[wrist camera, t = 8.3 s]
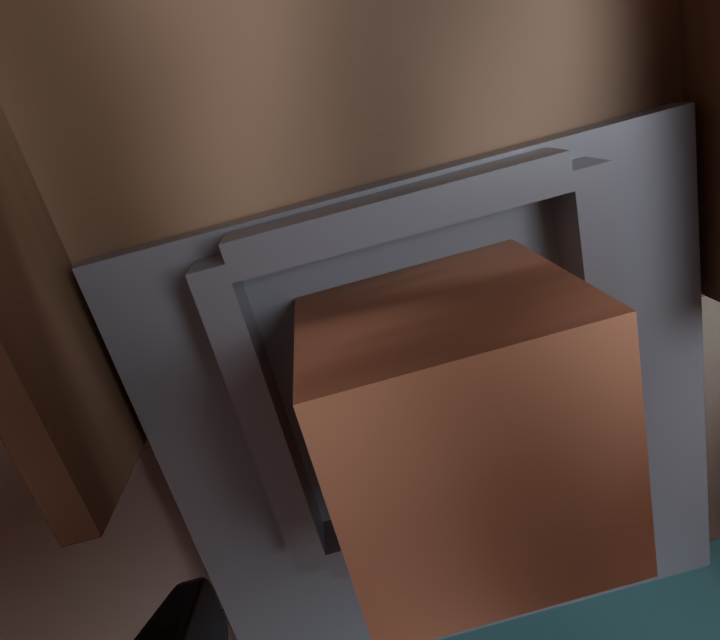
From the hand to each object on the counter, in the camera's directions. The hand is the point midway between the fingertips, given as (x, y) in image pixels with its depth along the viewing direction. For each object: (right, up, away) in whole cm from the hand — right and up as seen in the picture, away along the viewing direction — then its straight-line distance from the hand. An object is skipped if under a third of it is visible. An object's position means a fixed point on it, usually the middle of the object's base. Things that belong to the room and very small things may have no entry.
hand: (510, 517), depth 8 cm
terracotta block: (-1, +2, +5) cm, 6 cm away
